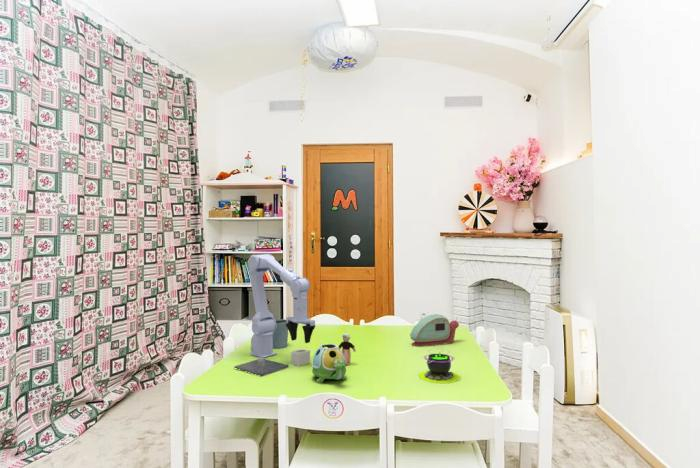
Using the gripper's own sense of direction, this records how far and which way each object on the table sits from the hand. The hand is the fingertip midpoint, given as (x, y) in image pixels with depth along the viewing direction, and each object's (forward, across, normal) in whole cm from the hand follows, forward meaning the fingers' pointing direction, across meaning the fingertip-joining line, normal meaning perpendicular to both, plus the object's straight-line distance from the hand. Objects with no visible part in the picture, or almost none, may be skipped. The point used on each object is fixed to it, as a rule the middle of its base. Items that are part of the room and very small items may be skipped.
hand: (300, 341), depth 189 cm
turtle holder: (+9, +23, -8) cm, 26 cm away
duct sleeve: (+9, 0, 0) cm, 9 cm away
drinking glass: (+9, -28, +14) cm, 33 cm away
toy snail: (+9, +29, +62) cm, 69 cm away
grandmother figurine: (+9, +16, +10) cm, 21 cm away
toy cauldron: (+10, +53, +18) cm, 57 cm away
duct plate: (+9, -8, -14) cm, 18 cm away
